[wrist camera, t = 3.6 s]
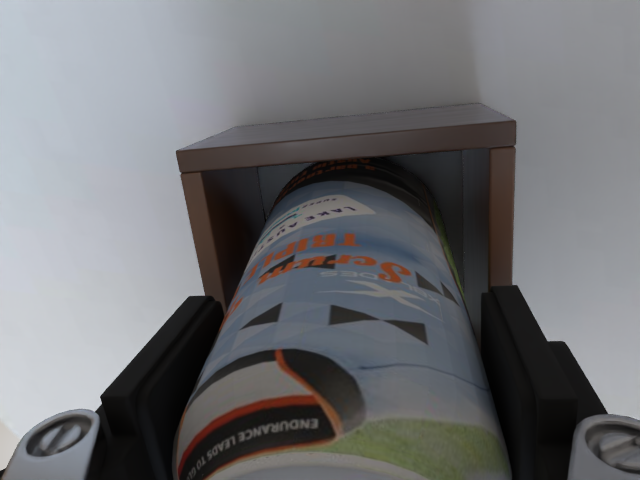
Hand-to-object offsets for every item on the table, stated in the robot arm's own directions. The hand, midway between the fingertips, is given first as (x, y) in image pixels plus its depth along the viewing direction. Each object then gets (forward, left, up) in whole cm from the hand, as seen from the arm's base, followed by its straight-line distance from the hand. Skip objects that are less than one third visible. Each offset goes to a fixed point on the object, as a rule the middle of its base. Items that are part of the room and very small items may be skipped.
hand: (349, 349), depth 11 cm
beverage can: (0, 0, -7) cm, 7 cm away
